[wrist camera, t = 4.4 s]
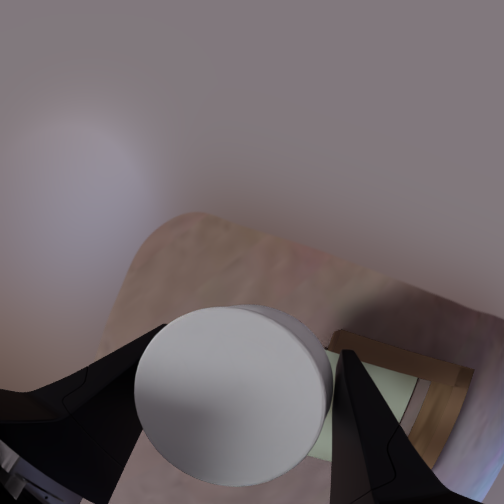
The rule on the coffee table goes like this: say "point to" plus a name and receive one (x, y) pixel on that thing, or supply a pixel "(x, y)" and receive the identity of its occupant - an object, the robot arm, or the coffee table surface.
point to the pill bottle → (234, 393)
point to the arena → (404, 391)
